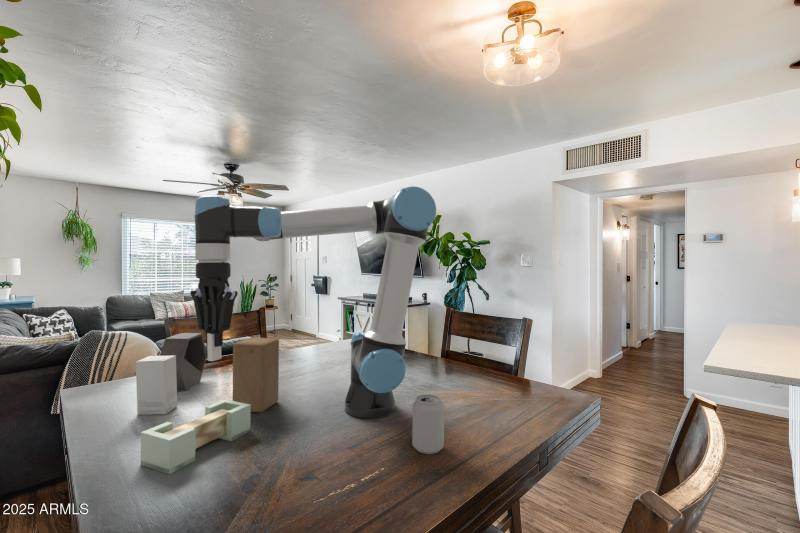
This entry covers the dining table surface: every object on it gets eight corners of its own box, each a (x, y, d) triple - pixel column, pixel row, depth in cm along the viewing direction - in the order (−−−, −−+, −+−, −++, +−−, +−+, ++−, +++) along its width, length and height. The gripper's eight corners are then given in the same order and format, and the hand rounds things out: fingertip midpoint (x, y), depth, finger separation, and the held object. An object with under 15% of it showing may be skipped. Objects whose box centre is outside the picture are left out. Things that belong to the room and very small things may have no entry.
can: (424, 437, 96) (425, 390, 96) (449, 447, 92) (450, 397, 92) (405, 448, 91) (406, 398, 90) (431, 459, 86) (432, 406, 86)
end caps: (224, 425, 102) (224, 399, 102) (250, 431, 98) (250, 404, 98) (140, 464, 82) (140, 432, 82) (169, 474, 78) (169, 440, 78)
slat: (221, 428, 98) (221, 408, 98) (231, 430, 97) (231, 411, 97) (160, 457, 83) (161, 434, 83) (171, 460, 82) (172, 437, 82)
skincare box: (177, 406, 115) (178, 354, 114) (164, 415, 108) (165, 360, 108) (149, 406, 114) (149, 354, 114) (134, 415, 108) (135, 360, 108)
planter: (175, 383, 122) (193, 323, 133) (150, 383, 121) (170, 323, 132) (196, 397, 136) (210, 341, 147) (173, 397, 135) (190, 341, 147)
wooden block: (261, 414, 110) (262, 344, 110) (230, 410, 112) (231, 342, 112) (279, 401, 120) (280, 338, 120) (250, 399, 122) (251, 336, 122)
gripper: (245, 261, 93) (247, 358, 93) (206, 261, 98) (207, 353, 98) (220, 261, 86) (222, 366, 86) (179, 262, 91) (181, 360, 91)
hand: (214, 359), depth 92 cm, fingers closed
